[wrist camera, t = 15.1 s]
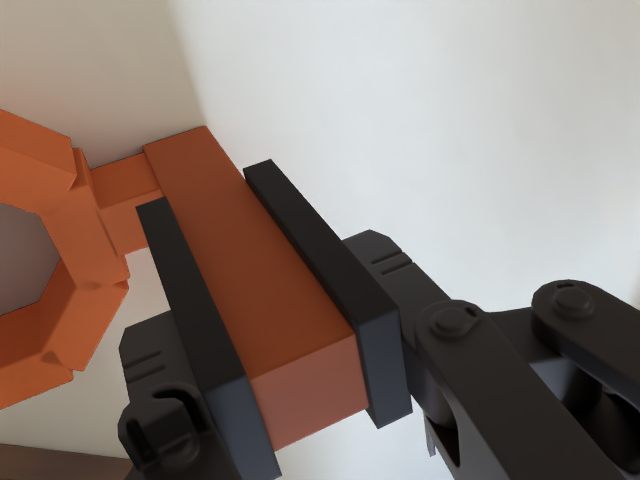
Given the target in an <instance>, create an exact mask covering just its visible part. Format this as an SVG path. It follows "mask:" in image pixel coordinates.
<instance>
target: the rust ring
mask: <svg viewBox="0 0 640 480" xmlns="http://www.w3.org/2000/svg"><path fill="white" fill-rule="evenodd" d="M143 151H144V152H143V153H140V154H137V155H134V156H131V157H128V158H125V159H122V160H119V161H116V162H113V163H110V164H107V165H104V166H101V167H98V168H95V169H92V170H90V168H89V166H88V164H87V161H86V159H85V157H84V154H83V152H82V150H81V148H76V149H73V150H72V146H71V141H70V138H69V137H67V136H64V135H62V134H59V133H57V132H55V131H52V130H50V129H47V128H45V127H42V126H40V125H38V124H35V123H33V122H30V121H28V120H25V119H23V118H21V117H18V116H16V115H13V114H11V113H9V112H6V111H4V110H1V109H0V202H1V203H5V204H8V205H11V206H14V207H17V208H20V209H23V210H26V211H29V212H32V213H35V214H38V215H39V216H40V218H41V220H42V222H43V224H44V226H45V228H46V230H47V232H48V234H49V235H50V237H51V239H52V241H53V243H54V245H55V247H56V249H57V251H58V253H59V255H60V256H61V259H60V261H59V263H58V265H57V267H56V269H55V271H54V273H53V275H52V277H51V279H50V281H49V283H48V284H47V286H46V288H45V290H44V292H43V294H42V296H41V298H40V300H39V302H37V303H34V304H32V305H29V306H26V307H24V308H21V309H18V310H16V311H13V312H10V313H8V314H5V315H2V316H0V410H1V409H4V408H6V407H9V406H11V405H14V404H16V403H18V402H21V401H23V400H26V399H28V398H31V397H33V396H36V395H38V394H40V393H43V392H45V391H48V390H50V389H53V388H55V387H58V386H60V385H62V384H65V383H67V382H70V381H72V380H73V370H77V371H83V370H84V369H85V367H86V366H87V364H88V362H89V360H90V358H91V357H92V355H93V353H94V351H95V349H96V348H97V346H98V344H99V342H100V340H101V339H102V337H103V335H104V333H105V331H106V330H107V328H108V326H109V324H110V322H111V321H112V319H113V317H114V315H115V313H116V312H117V310H118V308H119V306H120V304H121V303H122V301H123V299H124V297H125V295H126V294H127V292H128V290H129V286H128V283H127V279H128V278H130V273H129V270H128V266H127V262H126V259H125V255H126V254H129V253H132V252H134V251H137V250H140V249H143V248H145V247H148V246H149V245H148V243H147V240H146V237H145V234H144V231H143V228H142V225H141V222H140V220H139V217H138V214H137V211H136V208H135V206H138V205H141V204H144V203H147V202H150V201H152V200H155V199H158V198H161V197H164V196H166V197H167V200H168V202H169V204H170V206H171V208H172V211H173V213H174V215H175V217H176V220H177V222H178V224H179V226H180V228H181V231H182V233H183V235H184V237H185V239H186V242H187V244H188V246H189V248H190V250H191V253H192V255H193V257H194V259H195V261H196V264H197V266H198V268H199V270H200V273H201V275H202V277H203V279H204V281H205V284H206V286H207V288H208V290H209V292H210V295H211V297H212V299H213V301H214V303H215V306H216V308H217V310H218V312H219V314H220V317H221V319H222V321H223V323H224V326H225V328H226V330H227V332H228V334H229V337H230V339H231V341H232V343H233V345H234V348H235V350H236V352H237V354H238V356H239V359H240V361H241V363H242V365H243V367H244V370H245V372H246V374H247V377H248V380H249V383H250V386H251V388H252V391H253V394H254V397H255V400H256V403H257V405H258V408H259V411H260V414H261V417H262V420H263V422H264V425H265V428H266V431H267V434H268V437H269V439H270V442H271V445H272V448H273V451H277V450H279V449H281V448H283V447H286V446H288V445H290V444H292V443H294V442H296V441H298V440H300V439H303V438H305V437H307V436H309V435H311V434H313V433H315V432H317V431H319V430H322V429H324V428H326V427H328V426H330V425H332V424H334V423H336V422H339V421H341V420H343V419H345V418H347V417H349V416H351V415H353V414H355V413H358V412H360V411H362V410H364V409H366V408H368V407H369V403H368V397H367V392H366V387H365V382H364V377H363V371H362V366H361V361H360V356H359V350H358V345H357V340H356V335H355V332H354V330H353V328H352V327H351V326H350V324H349V323H348V322H347V320H346V319H345V317H344V316H343V315H342V313H341V312H340V311H339V309H338V308H337V306H336V305H335V304H334V302H333V301H332V299H331V298H330V297H329V295H328V294H327V293H326V291H325V290H324V288H323V287H322V286H321V284H320V283H319V282H318V280H317V279H316V277H315V276H314V275H313V273H312V272H311V271H310V269H309V268H308V266H307V265H306V264H305V262H304V261H303V259H302V258H301V257H300V255H299V254H298V253H297V251H296V250H295V248H294V247H293V246H292V244H291V243H290V242H289V240H288V239H287V237H286V236H285V235H284V233H283V232H282V231H281V229H280V228H279V226H278V225H277V224H276V222H275V221H274V219H273V218H272V217H271V215H270V214H269V213H268V211H267V210H266V208H265V207H264V206H263V204H262V203H261V202H260V200H259V199H258V197H257V196H256V195H255V193H254V192H253V191H252V189H251V188H250V186H249V185H248V184H247V182H246V180H245V179H244V178H243V176H242V175H241V173H240V172H239V171H238V169H237V168H236V167H235V165H234V164H233V162H232V161H231V160H230V158H229V157H228V156H227V154H226V153H225V151H224V150H223V149H222V147H221V146H220V145H219V143H218V142H217V140H216V139H215V138H214V136H213V135H212V134H211V132H210V131H209V129H208V128H207V127H206V126H202V127H199V128H196V129H193V130H190V131H187V132H184V133H181V134H178V135H174V136H171V137H168V138H165V139H162V140H159V141H156V142H153V143H150V144H147V145H144V146H143Z"/></svg>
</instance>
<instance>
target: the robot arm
mask: <svg viewBox="0 0 640 480" xmlns="http://www.w3.org/2000/svg"><path fill="white" fill-rule="evenodd" d="M243 172H244V176H245V180H246V182H247V184H248V185H249V186H250V188H251V189H252V191H253V192H254V193H255V195H256V196H257V197H258V199H259V200H260V202H261V203H262V204H263V206H264V207H265V208H266V210H267V211H268V213H269V214H270V215H271V217H272V218H273V219H274V221H275V222H276V224H277V225H278V226H279V228H280V229H281V231H282V232H283V233H284V235H285V236H286V237H287V239H288V240H289V242H290V243H291V244H292V246H293V247H294V248H295V250H296V251H297V253H298V254H299V255H300V257H301V258H302V259H303V261H304V262H305V264H306V265H307V266H308V268H309V269H310V271H311V272H312V273H313V275H314V276H315V277H316V279H317V280H318V282H319V283H320V284H321V286H322V287H323V288H324V290H325V291H326V293H327V294H328V295H329V297H330V298H331V299H332V301H333V302H334V304H335V305H336V306H337V308H338V309H339V311H340V312H341V313H342V315H343V316H344V317H345V319H346V320H347V322H348V323H349V324H350V326H351V327H352V328H353V330H354V332H355V335H356V340H357V345H358V350H359V356H360V361H361V366H362V371H363V377H364V382H365V387H366V392H367V397H368V403H369V407H368V408H366V409H365V410H366V411H367V413H368V415H369V416H370V418H371V419H372V421H373V422H374V424H375V426H376V427H377V429H380V428H382V427H384V426H386V425H388V424H390V423H392V422H394V421H396V420H398V419H400V418H402V417H404V416H406V415H409V414H411V413H413V410H412V402H411V395H412V396H413V398H414V399H415V400H416V402H417V403H418V404H419V406H420V407H421V408H422V410H423V414H424V423H425V432H426V440H427V447H428V451H429V454H430V457H431V456H433V455H436V453H435V446H436V447H437V449H438V451H439V453H440V454H441V456H442V458H443V460H444V461H445V463H446V465H447V467H448V468H449V470H450V472H451V474H452V475H453V477H454V479H455V480H640V311H639V310H637V309H636V308H634V307H632V306H630V305H629V304H627V303H625V302H623V301H622V300H620V299H618V298H616V297H615V296H613V295H611V294H609V293H608V292H606V291H604V290H602V289H601V288H599V287H597V286H594V285H592V284H589V283H587V282H584V281H577V280H569V279H568V280H558V281H553V282H550V283H548V284H545V285H543V286H541V287H540V288H539V289H538V290H537V291H536V292H535V293H534V295H533V299H532V303H531V307H527V308H521V309H514V310H508V311H502V312H484V311H483V310H482V309H480V308H479V307H478V306H477V305H475V304H472V303H469V302H466V301H464V300H452V299H451V298H450V297H449V296H448V295H447V294H446V293H445V292H444V291H443V290H442V289H441V288H440V287H439V286H438V285H437V284H436V283H435V282H434V281H433V280H432V279H431V278H430V277H429V276H428V275H427V274H426V273H425V272H424V271H423V270H422V269H421V268H420V267H419V266H418V265H417V264H416V263H415V262H414V263H413V262H412V259H411V258H410V257H409V256H408V255H407V254H405V253H404V252H402V250H401V249H400V248H399V247H398V246H397V245H396V244H395V243H394V242H393V241H392V240H391V239H390V238H389V237H388V236H385V235H383V234H380V233H378V232H375V231H373V230H370V229H369V230H367V231H364V232H362V233H359V234H357V235H354V236H351V237H349V238H346V239H344V240H341V239H340V238H339V237H338V236H337V235H336V234H335V232H334V231H333V230H332V229H331V228H330V227H329V225H328V224H327V223H326V222H325V221H324V220H323V219H322V217H321V216H320V215H319V214H318V213H317V212H316V210H315V209H314V208H313V207H312V206H311V205H310V204H309V202H308V201H307V200H306V199H305V198H304V197H303V195H302V194H301V193H300V192H299V191H298V190H297V189H296V187H295V186H294V185H293V184H292V183H291V182H290V180H289V179H288V178H287V177H286V176H285V175H284V174H283V172H282V171H281V170H280V169H279V168H278V167H277V165H276V164H275V163H274V162H273V161H272V160H271V159H269V160H266V161H263V162H260V163H258V164H255V165H252V166H249V167H246V168H243ZM135 208H136V211H137V214H138V217H139V220H140V222H141V225H142V228H143V231H144V234H145V237H146V240H147V243H148V245H149V248H150V251H151V254H152V257H153V260H154V263H155V266H156V268H157V271H158V274H159V277H160V280H161V283H162V286H163V289H164V291H165V294H166V297H167V300H168V303H169V306H170V309H171V310H169V311H167V312H164V313H162V314H159V315H157V316H154V317H152V318H149V319H147V320H144V321H142V322H139V323H137V324H134V325H132V326H129V327H127V328H125V330H124V333H123V336H122V339H121V342H120V345H119V353H120V358H121V362H122V367H123V369H124V370H123V372H124V377H125V381H126V384H127V385H126V386H127V391H128V396H129V400H130V403H129V404H128V405H127V407H126V408H125V409H124V410H123V412H122V415H121V417H120V419H119V422H118V424H117V425H118V438H119V440H120V442H121V443H122V445H123V447H124V449H125V450H126V452H127V454H128V456H129V457H130V459H131V461H132V462H133V466H132V468H131V470H130V472H129V473H128V474H127V476H126V477H125V478H124V480H274V479H276V478H278V477H280V476H282V474H281V471H280V468H279V465H278V462H277V459H276V457H275V454H274V451H273V448H272V445H271V442H270V439H269V437H268V434H267V431H266V428H265V425H264V422H263V420H262V417H261V414H260V411H259V408H258V405H257V403H256V400H255V397H254V394H253V391H252V388H251V386H250V383H249V380H248V377H247V374H246V372H245V370H244V367H243V365H242V363H241V361H240V359H239V356H238V354H237V352H236V350H235V348H234V345H233V343H232V341H231V339H230V337H229V334H228V332H227V330H226V328H225V326H224V323H223V321H222V319H221V317H220V314H219V312H218V310H217V308H216V306H215V303H214V301H213V299H212V297H211V295H210V292H209V290H208V288H207V286H206V284H205V281H204V279H203V277H202V275H201V273H200V270H199V268H198V266H197V264H196V261H195V259H194V257H193V255H192V253H191V250H190V248H189V246H188V244H187V242H186V239H185V237H184V235H183V233H182V231H181V228H180V226H179V224H178V222H177V220H176V217H175V215H174V213H173V211H172V208H171V206H170V204H169V202H168V200H167V197H166V196H164V197H161V198H158V199H155V200H152V201H150V202H147V203H144V204H141V205H138V206H135Z"/></svg>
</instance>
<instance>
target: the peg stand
mask: <svg viewBox="0 0 640 480" xmlns="http://www.w3.org/2000/svg"><path fill="white" fill-rule="evenodd" d="M132 466H133V462H132V461H131V460H129V459H121V458H113V457H104V456H96V455H88V454H79V453H71V452H63V451H54V450H46V449H38V448H29V447H21V446H13V445H4V444H0V480H124V478H125V477H126V476H127V474H128V473H129V472H130V470H131V468H132Z"/></svg>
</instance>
